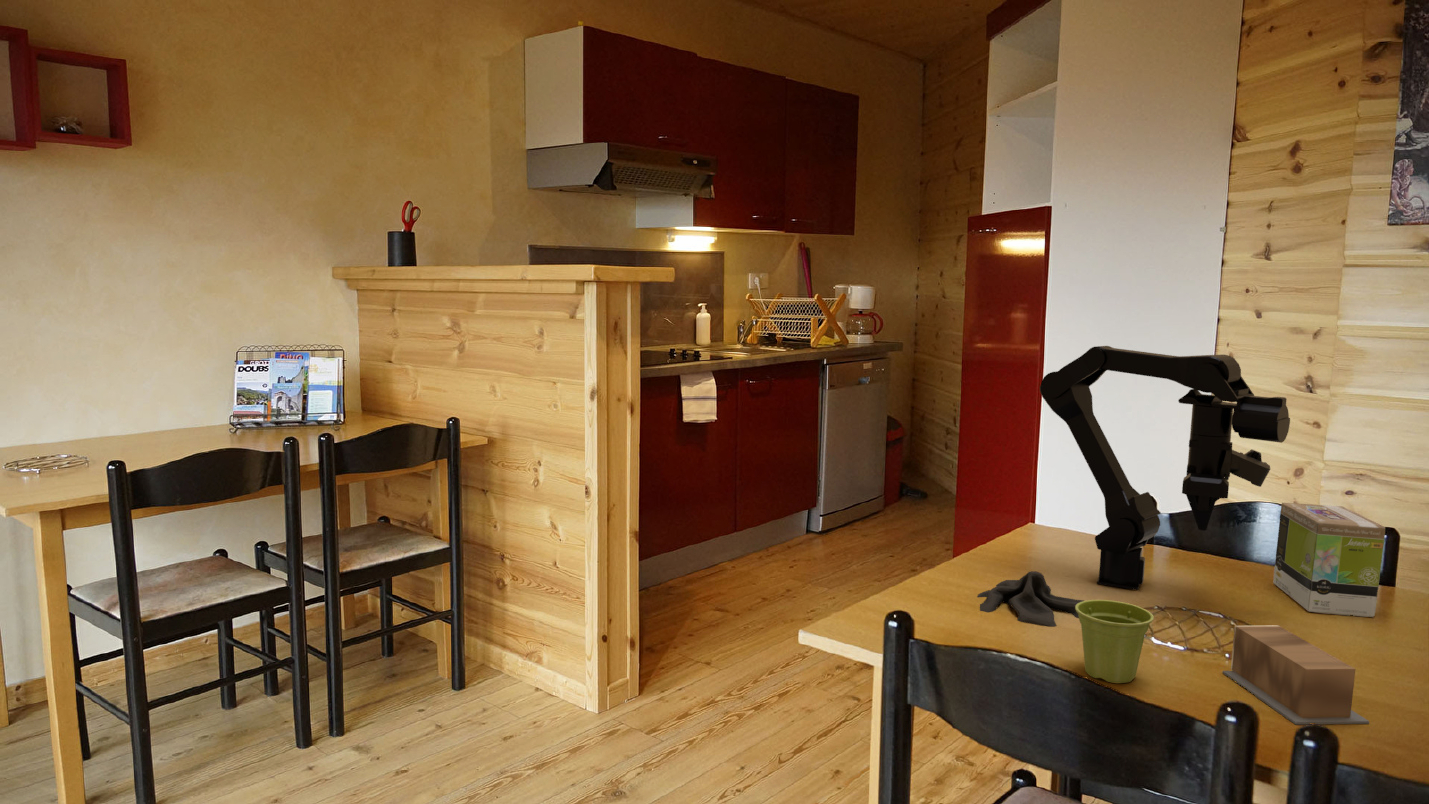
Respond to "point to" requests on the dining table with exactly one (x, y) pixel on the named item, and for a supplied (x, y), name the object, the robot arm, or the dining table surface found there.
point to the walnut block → (1293, 671)
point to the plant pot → (1112, 638)
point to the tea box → (1329, 559)
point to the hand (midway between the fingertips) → (1202, 529)
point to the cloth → (1029, 599)
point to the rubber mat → (1287, 712)
